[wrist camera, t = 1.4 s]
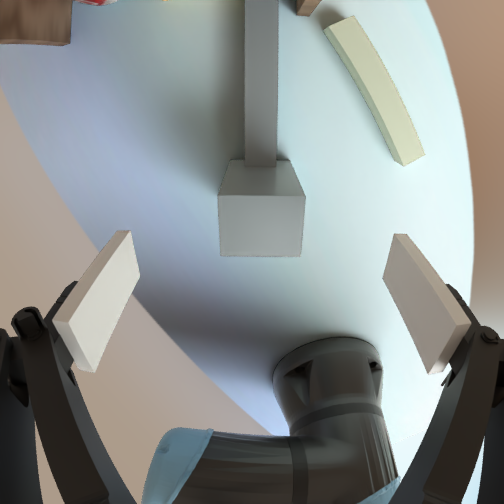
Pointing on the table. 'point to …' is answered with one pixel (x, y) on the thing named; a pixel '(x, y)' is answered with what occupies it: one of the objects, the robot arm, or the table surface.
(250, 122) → the crook
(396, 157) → the plain stick
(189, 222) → the table surface
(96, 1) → the soda can
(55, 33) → the cubby
